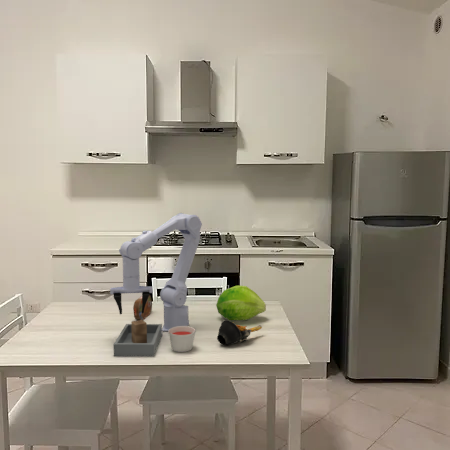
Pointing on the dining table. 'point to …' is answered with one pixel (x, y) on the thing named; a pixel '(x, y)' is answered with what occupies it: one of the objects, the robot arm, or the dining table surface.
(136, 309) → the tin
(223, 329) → the fried shrimp in bowl
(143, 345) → the bin
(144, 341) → the block
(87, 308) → the dining table surface
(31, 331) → the dining table surface
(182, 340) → the candle
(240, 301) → the green papaya
